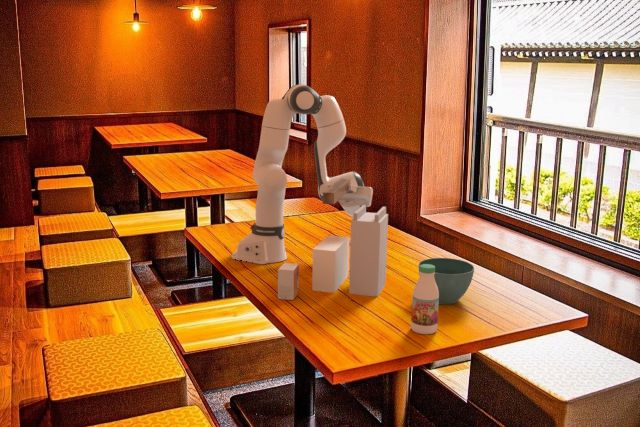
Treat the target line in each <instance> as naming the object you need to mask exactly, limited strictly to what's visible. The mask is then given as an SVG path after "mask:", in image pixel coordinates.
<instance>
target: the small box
mask: <svg viewBox="0 0 640 427" xmlns="http://www.w3.org/2000/svg"><path fill="white" fill-rule="evenodd" d="M299 277H300V264H299V263H289V262H283V264H282V265H281V266H280V267H279V268H278V269H277V300H288V301H294V300H295V298H296V297H297V296H298V294H299V293H300V290H299V289H300V278H299Z"/></svg>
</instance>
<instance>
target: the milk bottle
mask: <svg viewBox="0 0 640 427" xmlns="http://www.w3.org/2000/svg"><path fill="white" fill-rule="evenodd" d="M419 273H420V275H419V276H418V280H417V282H416V283H415V285H414V287H413V292H412V302H411V303H412V305H411V320H410V327H411V330H412V331H413V332H414V333H417V334H421V335H431V334H432V335H433V334H434V333H436V332H437V331H438V325H439V324H438V323H439V322H438V320H439V291H438V287H437V285H436V282H435V279H434V274H435V266H434V265H430V264H422V265H420V267H419V266H418V274H419Z"/></svg>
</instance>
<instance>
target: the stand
mask: <svg viewBox="0 0 640 427" xmlns="http://www.w3.org/2000/svg"><path fill="white" fill-rule="evenodd" d="M388 224H389V213H387V206H382V207H381V208H380V209H379V210H378V211H377V212H367V207H366V205H362V206H361V207H360V208H359V209H358V210H357V211H356V212H354V218H353V217H352V219H350V242H349V284H348V285H349V286H348V288H349V290H348V291H349V295H357V296H358V295H359V296H369V297H376V298H378V297H379V296H380V294H381V292H382V291H383V289H384V287H385V286H386V279H387V275H386V274H387V253H388V231H389V230H388V229H389V228H388V226H389V225H388Z"/></svg>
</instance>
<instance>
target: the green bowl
mask: <svg viewBox="0 0 640 427" xmlns="http://www.w3.org/2000/svg"><path fill="white" fill-rule="evenodd" d="M422 264H430V265H434V266H435V274H434V279H435V282H436V285H437V287H438V291H439V304H440V305H452V304H453V305H454V304H456V303H457V302H458V301H460V300H461V298H462V297H463V296H464V295H465V294H466V293H467V291H468V289H469V287H470V285H471V284H472V283H471V282H472V281H473V280H472V279H473V276H474V272H475V267H474V265H473V264H471V263H470V262H468V261H465V260H462V259H456V258H450V257H432V258H427V259H423V260H421V261H420V262H419V263H418V268H419V267H420V265H422ZM418 274H419V276H420V273H419V272H418Z"/></svg>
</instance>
